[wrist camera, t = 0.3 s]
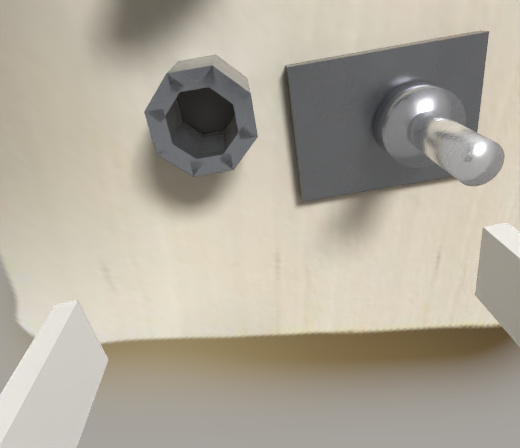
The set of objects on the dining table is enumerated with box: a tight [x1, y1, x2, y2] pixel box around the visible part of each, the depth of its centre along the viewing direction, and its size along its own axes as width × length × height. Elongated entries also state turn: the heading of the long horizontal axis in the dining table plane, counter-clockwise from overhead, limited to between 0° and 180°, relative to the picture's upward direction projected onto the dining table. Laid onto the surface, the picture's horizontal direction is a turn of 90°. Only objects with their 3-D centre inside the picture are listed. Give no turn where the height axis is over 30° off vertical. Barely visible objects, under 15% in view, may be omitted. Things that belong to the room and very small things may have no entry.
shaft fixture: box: [286, 31, 504, 201], centre depth 30 cm, size 12×16×12 cm
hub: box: [144, 55, 258, 177], centre depth 30 cm, size 7×7×6 cm
